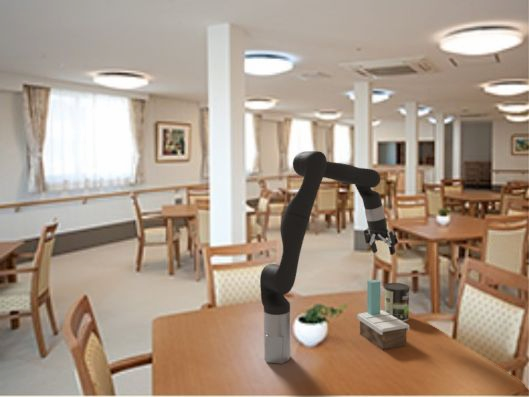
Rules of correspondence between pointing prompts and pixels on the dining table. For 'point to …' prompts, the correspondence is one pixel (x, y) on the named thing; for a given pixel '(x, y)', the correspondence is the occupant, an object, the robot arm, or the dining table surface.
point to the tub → (384, 337)
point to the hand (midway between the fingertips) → (383, 253)
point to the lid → (378, 312)
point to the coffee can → (397, 300)
